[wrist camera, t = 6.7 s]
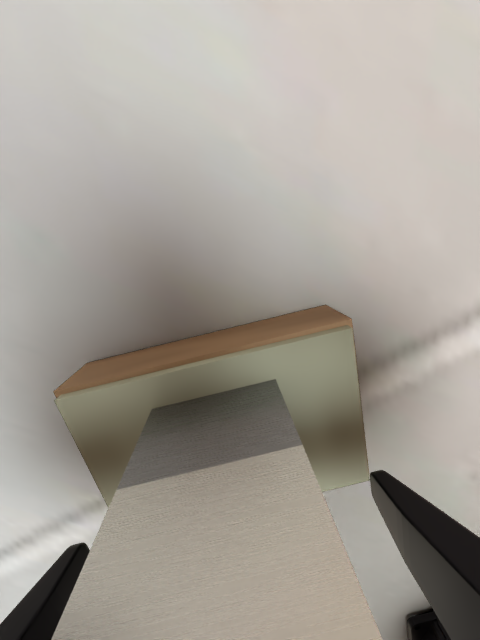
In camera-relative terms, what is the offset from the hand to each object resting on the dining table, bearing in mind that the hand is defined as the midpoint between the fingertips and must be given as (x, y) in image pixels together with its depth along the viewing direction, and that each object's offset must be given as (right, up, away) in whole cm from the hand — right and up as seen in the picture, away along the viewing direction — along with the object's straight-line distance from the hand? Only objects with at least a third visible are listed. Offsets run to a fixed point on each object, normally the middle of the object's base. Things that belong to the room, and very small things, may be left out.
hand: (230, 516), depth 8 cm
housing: (0, +1, +3) cm, 3 cm away
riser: (0, +2, +6) cm, 6 cm away
